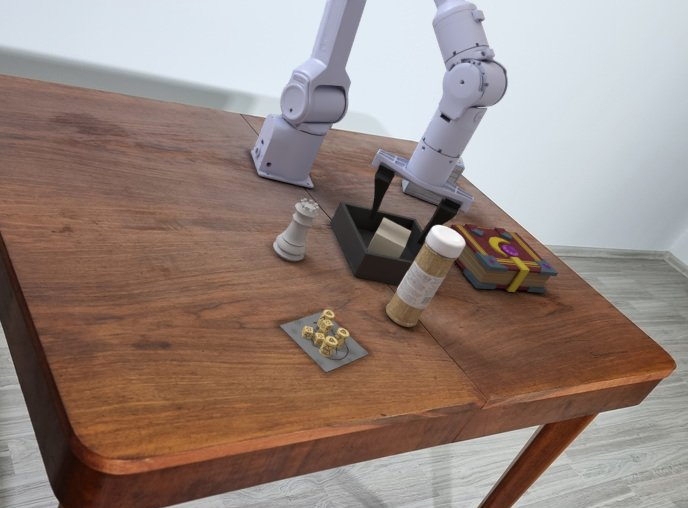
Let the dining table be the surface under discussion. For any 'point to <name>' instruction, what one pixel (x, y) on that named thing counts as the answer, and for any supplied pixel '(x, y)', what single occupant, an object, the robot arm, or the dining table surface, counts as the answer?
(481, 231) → the decorative book
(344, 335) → the dice set
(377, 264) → the basket
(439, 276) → the sprinkles bottle
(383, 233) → the small box
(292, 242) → the rook chess piece
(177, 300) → the dining table surface
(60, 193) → the dining table surface
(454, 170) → the medicine box
